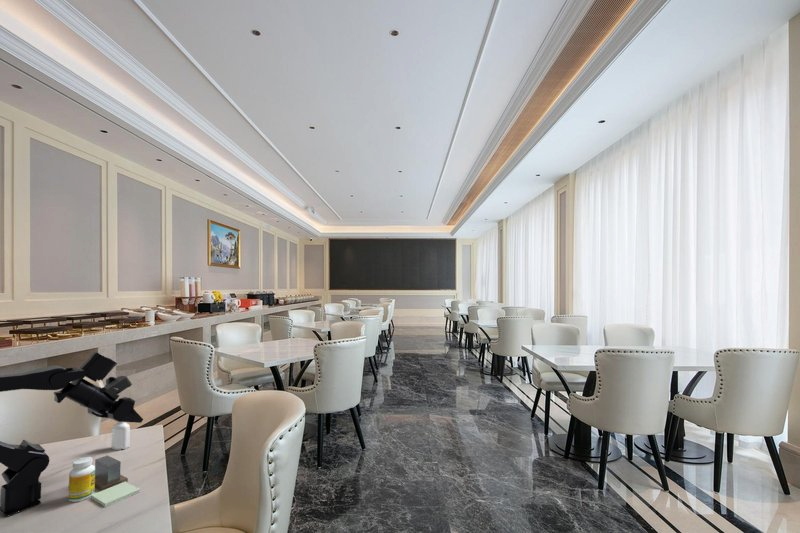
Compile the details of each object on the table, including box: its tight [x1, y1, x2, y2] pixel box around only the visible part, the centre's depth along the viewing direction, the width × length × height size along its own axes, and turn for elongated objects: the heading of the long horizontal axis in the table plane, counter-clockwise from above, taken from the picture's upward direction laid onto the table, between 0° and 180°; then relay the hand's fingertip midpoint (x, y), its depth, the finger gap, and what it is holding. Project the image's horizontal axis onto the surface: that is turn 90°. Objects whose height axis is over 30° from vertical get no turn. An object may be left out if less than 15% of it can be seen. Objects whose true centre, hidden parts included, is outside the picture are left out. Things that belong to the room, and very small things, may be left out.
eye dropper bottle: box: [111, 421, 131, 451], centre depth 132 cm, size 4×6×12 cm
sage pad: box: [90, 481, 141, 508], centre depth 102 cm, size 8×8×1 cm
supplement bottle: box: [67, 456, 96, 503], centre depth 101 cm, size 5×5×10 cm
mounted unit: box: [94, 454, 129, 491], centre depth 109 cm, size 6×10×6 cm, turn 59°
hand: (134, 419), depth 117 cm, fingers open, 9 cm apart
